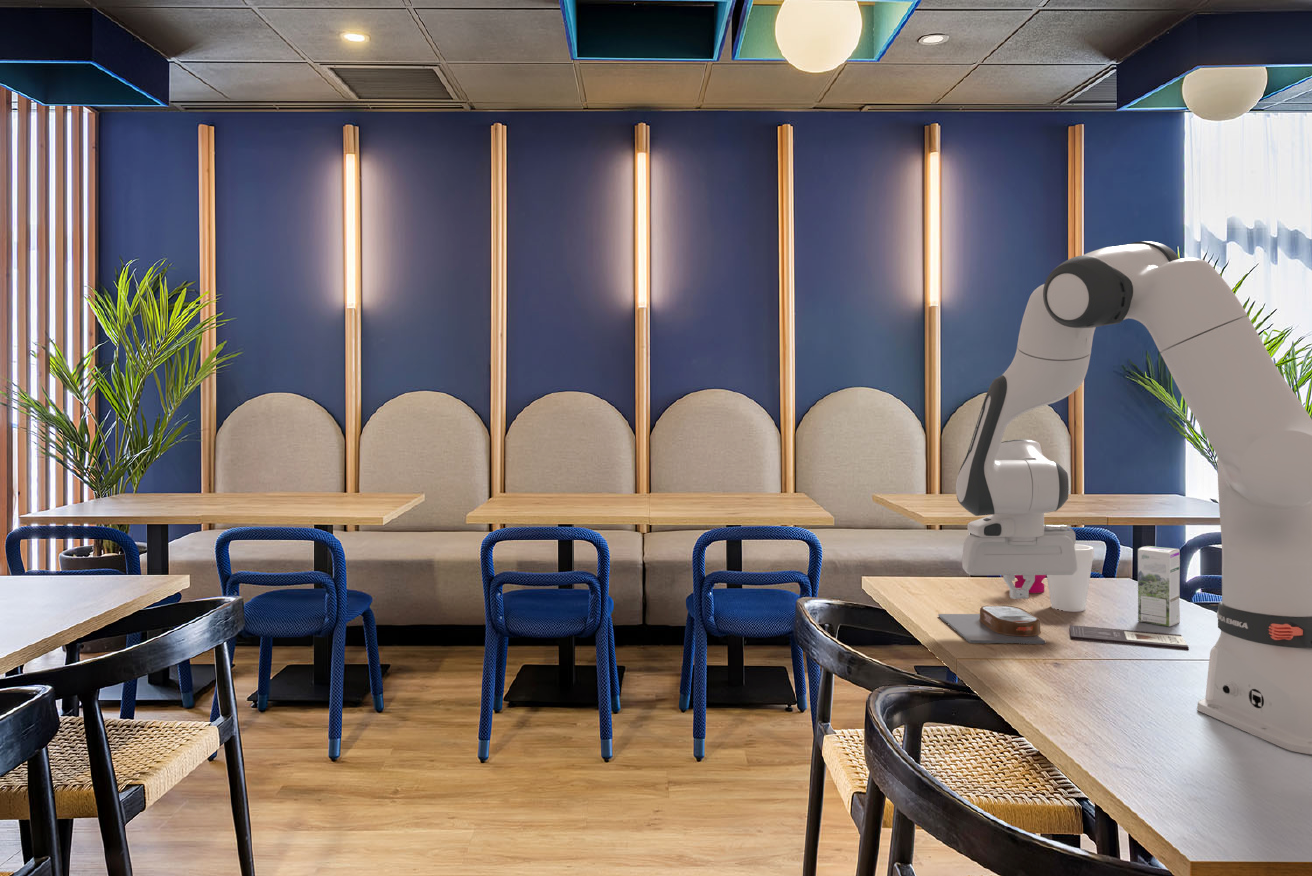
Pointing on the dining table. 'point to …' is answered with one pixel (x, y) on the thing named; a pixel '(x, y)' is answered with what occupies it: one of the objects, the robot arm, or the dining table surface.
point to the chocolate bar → (1128, 637)
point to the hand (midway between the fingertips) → (1019, 598)
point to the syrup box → (1158, 585)
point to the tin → (1010, 620)
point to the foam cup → (1072, 583)
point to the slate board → (983, 630)
